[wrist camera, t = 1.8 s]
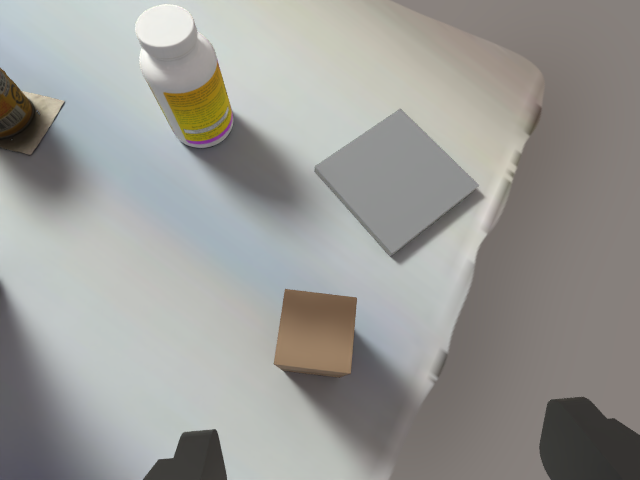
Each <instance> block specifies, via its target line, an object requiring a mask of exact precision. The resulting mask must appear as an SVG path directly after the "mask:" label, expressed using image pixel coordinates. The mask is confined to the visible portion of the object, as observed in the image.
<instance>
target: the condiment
mask: <svg viewBox="0 0 640 480" xmlns="http://www.w3.org/2000/svg"><path fill="white" fill-rule="evenodd" d="M63 103H64V101H62V100H59V99H53V98H50V97H46V96H41V95H37V94H33V93H27V92H23V91H21V90H20V89H19V88H18V87H17V85H16V84H15V83H14V82H13V81H12V80H11V79H10V78H9V77H8V76H7V75H6V73H5V71H4V70H2V69H1V68H0V147H1V148H4V149H8V150H12V151H16V152H21V153H25V154H29V155H31V154H32V152H33V151H34V149H35V148H36V147H37V146H38V144H39V143H40V141H41V139H42V138H43V136H44V135H45V133H46V132H47V130H48V128H49V127H50V125H52V123H53V120H54V118H55V116H56V115H57V113H58V112H59V110H60V108H61V106H62V104H63ZM36 110H38V112H39V113H40V115H38V112H36ZM11 139H12V140H11Z"/></svg>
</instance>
